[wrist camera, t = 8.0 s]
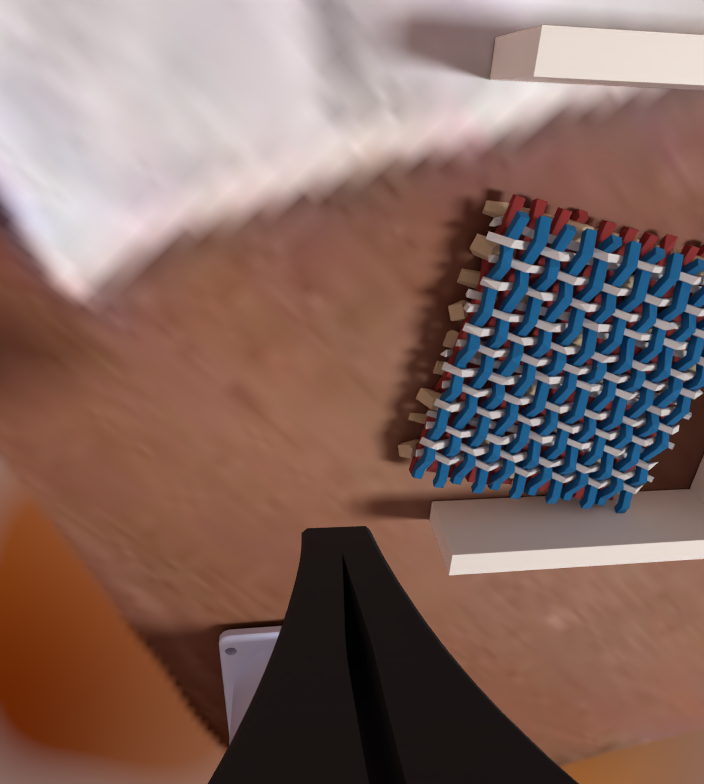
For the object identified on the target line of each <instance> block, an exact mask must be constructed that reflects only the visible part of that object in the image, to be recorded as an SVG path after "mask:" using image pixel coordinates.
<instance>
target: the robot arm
mask: <svg viewBox="0 0 704 784" xmlns="http://www.w3.org/2000/svg"><path fill="white" fill-rule="evenodd" d="M219 650H220V659H221V667H222V676H223V685H224V694H225V702H226V711H227V720H228V729H229V737H230V739H229V747H228V749H227V751H226V752H225V754H224V756H223V758H222V760H221V762H220V763H219V765H218V767H217V769H216V771H215V772H214V774H213V776H212V777H211V779H210V781H209V783H208V784H579V783H577V782H576V781H575V780H574V779H573V778H572V777H571V776H569V775H568V774H567V773H566V772H565V771H564V770H563V769H561V768H560V767H559V766H558V765H557V764H556V763H555V762H554V761H552V760H551V759H550V758H549V757H548V756H547V755H546V754H545V753H544V752H543V751H542V750H541V749H540V748H539V747H538V746H537V745H535V744H534V743H533V742H532V741H531V740H530V739H529V738H528V737H527V736H526V735H525V734H524V733H523V732H522V731H521V730H520V729H519V728H518V727H517V726H516V725H515V724H514V723H513V722H512V721H511V720H510V719H509V718H508V717H507V716H506V715H504V714H503V713H502V711H501V710H500V709H499V708H498V707H497V706H496V705H495V704H494V703H493V702H492V701H491V700H490V699H489V698H488V697H487V695H486V694H485V693H484V692H483V691H482V690H481V689H480V688H479V687H478V686H477V685H476V683H475V682H474V681H473V680H472V679H471V678H470V677H469V675H468V674H467V673H466V672H465V671H464V670H463V669H462V667H461V666H460V665H459V664H458V663H457V661H456V660H455V659H454V658H453V657H452V655H451V654H450V653H449V652H448V650H447V649H446V648H445V647H444V645H443V644H442V643H441V641H440V640H439V639H438V637H437V636H436V635H435V633H434V632H433V631H432V630H431V628H430V627H429V626H428V624H427V623H426V621H425V620H424V619H423V617H422V616H421V614H420V613H419V612H418V610H417V609H416V607H415V606H414V604H413V603H412V601H411V600H410V598H409V597H408V595H407V594H406V592H405V591H404V589H403V588H402V586H401V585H400V583H399V581H398V580H397V578H396V577H395V575H394V573H393V572H392V570H391V568H390V567H389V565H388V563H387V562H386V560H385V558H384V556H383V555H382V553H381V551H380V549H379V547H378V545H377V543H376V541H375V539H374V537H373V535H372V533H371V531H370V530H369V529H368V528H367V527H366V526H357V527H332V528H307V529H306V530H305V531H304V532H302V545H301V556H300V562H299V567H298V572H297V576H296V581H295V585H294V588H293V592H292V595H291V599H290V602H289V606H288V609H287V612H286V615H285V618H284V621H283V624H282V626H271V627H258V628H244V629H231V630H226V631H224V632H222V633H221V635H220V638H219Z"/></svg>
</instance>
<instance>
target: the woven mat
mask: <svg viewBox="0 0 704 784" xmlns="http://www.w3.org/2000/svg"><path fill="white" fill-rule="evenodd" d="M525 200H526V199H525V198H524V197H521V196H517V195H514V194H513V196H512V198H511V201H510V203H505V202H497V201H489V200H486V203H485V206H484V209H483V212H482V213H483V214H485V215H488V216H491V217H494V218H493V220H492V222H491V223H490V225H489V226H498V225H499V226H498V228H497V229H496V231H495V232H494V233H493V232H489V231H488V234H487V237H486V236H483V235H481V234H478V233H477V235H476V237H475V239H474V241H473V243H472V245H471V247H470V250H471V252H472V254H473V255H475V256H477V257H480V258H482V261H481V271H474V270H469V269H463V268H462V269H461V272H460V274H459V277H458V280H457V282H458V283H460V284H463V285H466V286H469V287H471V288H474V289H476V290H471V289H468V291H467V292H466V297H468V298H472V301H471V302H468V301H465V300H462V301H459V302H456V303H454V304H452V305H449V306H448V309H449V314H450V319H451V321H463V324H462V327H461V329H460V332H457V331H455V330H451V331H448V332H447V334H446V337H445V340H444V342H443V345H442V346H445V347H448V348H451V349H448V350H445V351H444V352H443V353H441V354H440V355H442V356H445V357H450V358H449V360H448V362H443V361H437V363H436V365H435V368H434V371H433V373H434V374H438V375H443V376H442V377H441V378H440V379H439V381H438V382H437V383H436V385H435V388H434V390H431V389H427V388H420V390H419V393H418V395H417V397H416V399H417V400H418V401H420V402H421V403H423V404H424V405H426V406H427V407H428V412H427V414H421V413H410V415H409V418H408V420H410V421H414V422H418V423H421V424H424V427H423V430H422V433H421V436H420V439H419V440H417V439H416V440H411V441H407V442H404V443H401V444H399V445H398V450H399V456H400V457H405V458H409V459H412V458H413V459H412V462H411V465H410V468H409V471H410V473H411V475H412V476H413V477H414V478H419V479H422V476H423V474H424V472H425V471H430V472H436V471H437V472H436V476H435V478H434V480H433V485H434V487H439V488H443V487H444V485H445V483H446V481H447V477H450V478H451V479H450V481H451V482H452V483H453V484H459V485H461V482H462V479H463V478H464V477H465V476H466V477H465V478H466V479H467V481H468V482H474V483H473V485H472V486H471V488H472V492H473V493H482V491H483V490H484V488H485V486H486V484H487V485H488V487H489V488H490V489H493V490H499V488H500V485H501V484H502V483H505V484H511V482H512V478H514V480H513V485H512V488H511V490H510V491H509V495H510V498H515V499H519V498H520V496H521V495H522V493H523V491H524V492H525V493H526V494H528V495H534V496H535V494H536V492H537V490H539V491H545V492H546V490H547V489H548V487H549V486H550V487H549V492H548V494H547V495H546V496H545V499H546V503H549V504H555V503H556V502H557V500H558V499H559V498H561V499H563V500H568V501H570V499H571V497H572V496H573V497H574V498H578V499H581V498H582V495H583V493H584V497H583V498H582V500H581V501H580V502H579V503H580V506H581V508H584V509H590V508H591V506H592V505H593V504H594V503H595V504H597V505H602V506H604V505H605V503H606V501H607V500H613V496H614V495H615V494H617V493H618V494H620V495H619V500H618V503H617V504H616V505H615V507H614V509H615V512H616V513H625V512H626V511H627V510H628V509H629V508H630V503H631V499H632V495H633V494H636V493H637V492H638V491H639V490H640V488H641V487H642V486H643V485H642V484H645V483H647V481H649V482H651V483H652V481H653V479H654V477H652V476H650V475H648V471H649V470H650V469H651V468H652V467H653V466H654V465H656V464H657V463H658V462H652V463H649V462H650V459H651V458H653V457H654V456H656V455H657V454H659V453H660V452H662V451H663V450H665V449H667V448H670V449H673V447H674V445H675V444H673V443H671V442H669V434H671V435H673V434H675V433H676V432H678V431H679V425H676V426H673V425H675V424H676V423H677V422H678V421H680V420H681V419H682V418H685V419H688V420H689V419H690V417H691V415H692V413H690V412H689V409H690V404H691V398H692V399H695V398H697V397H699V396H700V395H701V394H702V393H703V392H702V391H701V390H700V389H699V388H701V387H703V386H704V245H702V246H701V247H700V248H698V247H695V246H692V245H689V244H685V246H684V248H683V249H682V251H678V250H674V249H673V246H674V244H675V242H676V240H677V236H673V235H669V234H667V235H666V236H665V237H664V238H663V240H662V242H661V245H657V244H655V242H656V241H657V239H658V238H659V237H658V236H657V235H655V234H652V233H649V232H645V233H644V235H643V236H642V238H641V240H639V239H635V236H636V234H637V232H638V230H635V229H632V228H628V227H625V226H624V227H623V229H622V231H621V233H620V234H617V233H614V232H613V231H614V229H615V226H616V224H615V223H612V222H608V221H604V220H602V222H601V224H600V226H599V228H596V227H593V226H591V225H588V224H584V223H585V222H586V221H587V220H588V219H589V217H588V213H587V212H586V211H583V210H579V209H578V210H577V211H576V212H575V214H574V215H573V216H572V217H571V219H569V218H570V216H571V214H572V212H571V211H569V210H566V209H562V208H559V207H558V209H557V211H556V214H555V216H552V215H548V214H545V213H544V211H545V208H546V204H547V201H544V200H541V199H535V200H533V201H532V204H531V208H530V209H528V208H525V207H523V205H524V202H525ZM520 235H521V236H520ZM519 237H520V239H519ZM518 239H519V240H518ZM574 251H577V253H574ZM635 271H636V272H635ZM633 272H635V274H632V273H633ZM505 274H506V275H505ZM504 276H505V277H504ZM698 285H703V286H702V287H701V286H698ZM622 296H628V297H627V298H626V299H625V300H623V301H622ZM621 301H622V302H621ZM664 306H669V307H667V308H666V309H664V310H663V311H662V312H660V313H659V314H657V312H658V311H659V310H660V309H662V308H663V307H664ZM524 312H525V315H524ZM555 321H556V322H555ZM484 324H485V325H484ZM483 325H484V326H483ZM644 340H649V343H648V342H644ZM572 354H575V355H574V356H573V357H572ZM618 354H619V355H618ZM494 359H495V360H494ZM611 362H617V363H615V364H613V365H608V364H609V363H611ZM466 364H467V366H466ZM653 370H655V371H653ZM652 371H653V372H652ZM689 379H691V380H689ZM685 380H689V381H686V382H685ZM484 384H485V385H484ZM483 385H484V388H483V389H481V388H482V387H483ZM480 389H481V390H480ZM697 389H699V390H697ZM695 390H696V391H695ZM659 391H661V392H662V393H661V394H659ZM529 403H532V404H530V405H528V404H529ZM674 404H675V405H677V406H676V407H672V406H673V405H674ZM568 411H570V412H568ZM606 418H608V419H606ZM640 425H644V426H640ZM672 426H673V427H672ZM553 432H554V433H556V434H552V433H553ZM440 437H441V439H440V441H437V440H438V439H439V438H440ZM612 439H613V440H612ZM610 440H612V441H610ZM609 441H610V442H609ZM608 442H609V443H608ZM594 464H596V465H594ZM635 466H636V469H635V470H633V469H634V467H635ZM538 473H539V474H538ZM574 479H575V480H574ZM572 480H573V481H572ZM638 485H640V486H638ZM635 486H636V487H635Z"/></svg>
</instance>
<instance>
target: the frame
mask: <svg viewBox="0 0 704 784" xmlns="http://www.w3.org/2000/svg"><path fill="white" fill-rule="evenodd" d="M490 80H505V81H525V82H545V83H565V84H585V85H605V86H625V87H645V88H665V89H685V90H704V35H693V34H677V33H662V32H646V31H630V30H615V29H599V28H583V27H567V26H552V25H540V26H536V27H533V28H529V29H525V30H521V31H518V32H514V33H510V34H506V35H502V36H499V37H496V38H495V46H494V53H493V60H492V68H491V75H490ZM619 495H620V494H618V493H617V494H615V495H614V496H613V500H607V501H606V503H605V505H604V506H602V505H597V504H595V503H594V504H593V505H592V506H591V508H590V509H584V508H581V506H580V503H579V502H580V501H581V500H582V498H583V497H584V494H583V495H582V498H581V499H578V498H574V497H573V496H572V497H571V499H570V501H568V500H563V499H561V498H559V499H558V500H557V502H556V503H555V504H549V503H546V499H545V496H535V497H520V498H519V499H515V498H493V499H472V500H451V501H432V505H431V512H430V520H429V521H430V523H431V526H432V529H433V532H434V535H435V537H436V540H437V543H438V546H439V548H440V551H441V554H442V557H443V560H444V562H445V565H446V568H447V571H448V574H449V575H460V574H476V573H491V572H506V571H522V570H537V569H552V568H567V567H583V566H598V565H613V564H629V563H644V562H659V561H675V560H690V559H704V455H703V458H702V460H701V463H700V465H699V468H698V470H697V472H696V475H695V477H694V480H693V482H692V484H691V487H690V489H680V490H660V491H639V492H637V493H636V494H633V495H632V499H631V503H630V508H629V509H628V510H627V511H626V512H625V513H616V512H615V509H614V507H615V505H616V504H617V503H618V500H619Z"/></svg>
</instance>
